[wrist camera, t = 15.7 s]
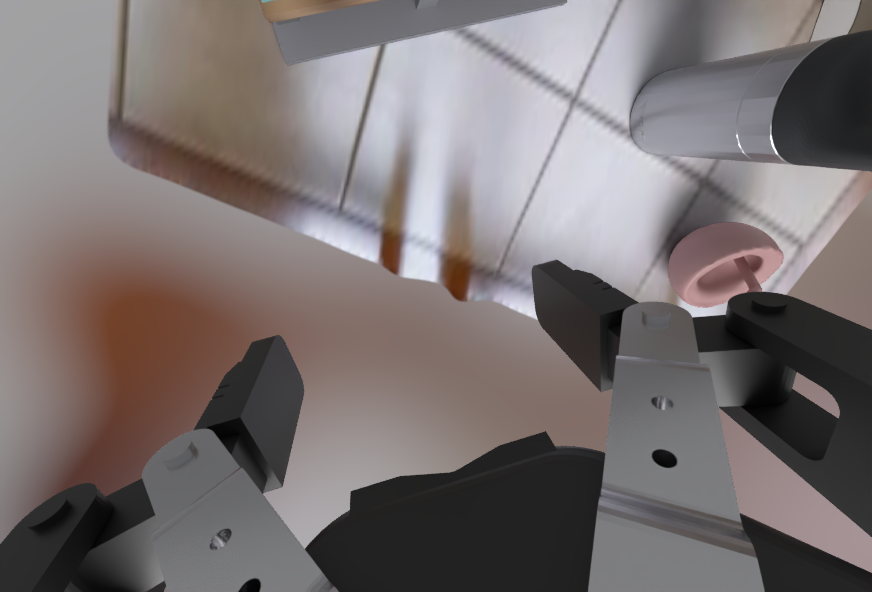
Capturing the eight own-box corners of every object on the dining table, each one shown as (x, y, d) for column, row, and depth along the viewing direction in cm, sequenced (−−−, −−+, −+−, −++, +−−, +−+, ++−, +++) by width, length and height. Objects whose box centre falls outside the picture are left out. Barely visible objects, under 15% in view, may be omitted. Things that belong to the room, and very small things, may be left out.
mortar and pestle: (637, 291, 55) (700, 328, 45) (663, 211, 50) (740, 232, 40) (704, 291, 57) (779, 326, 47) (735, 215, 52) (825, 235, 42)
